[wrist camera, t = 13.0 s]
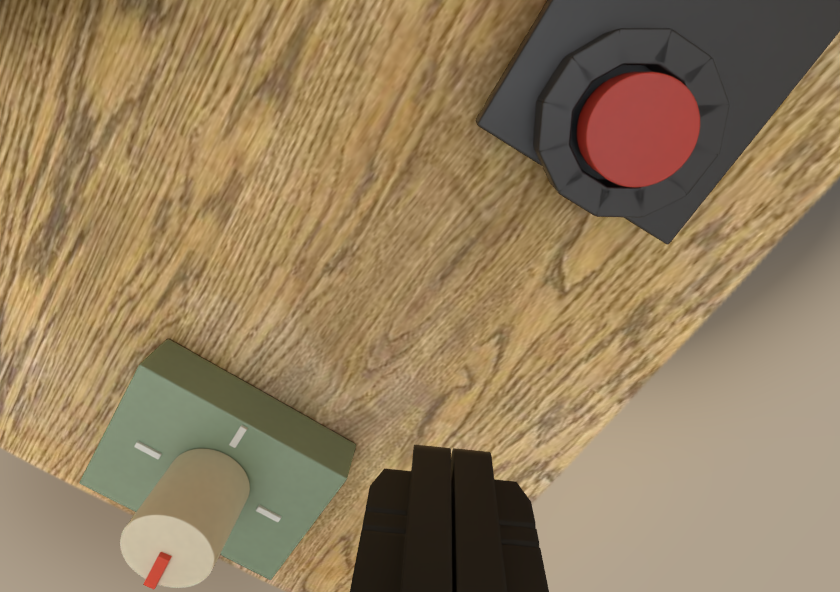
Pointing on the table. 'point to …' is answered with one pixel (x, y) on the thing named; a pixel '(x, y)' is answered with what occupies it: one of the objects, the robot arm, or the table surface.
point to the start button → (638, 128)
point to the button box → (665, 53)
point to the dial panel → (230, 434)
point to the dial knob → (186, 519)
